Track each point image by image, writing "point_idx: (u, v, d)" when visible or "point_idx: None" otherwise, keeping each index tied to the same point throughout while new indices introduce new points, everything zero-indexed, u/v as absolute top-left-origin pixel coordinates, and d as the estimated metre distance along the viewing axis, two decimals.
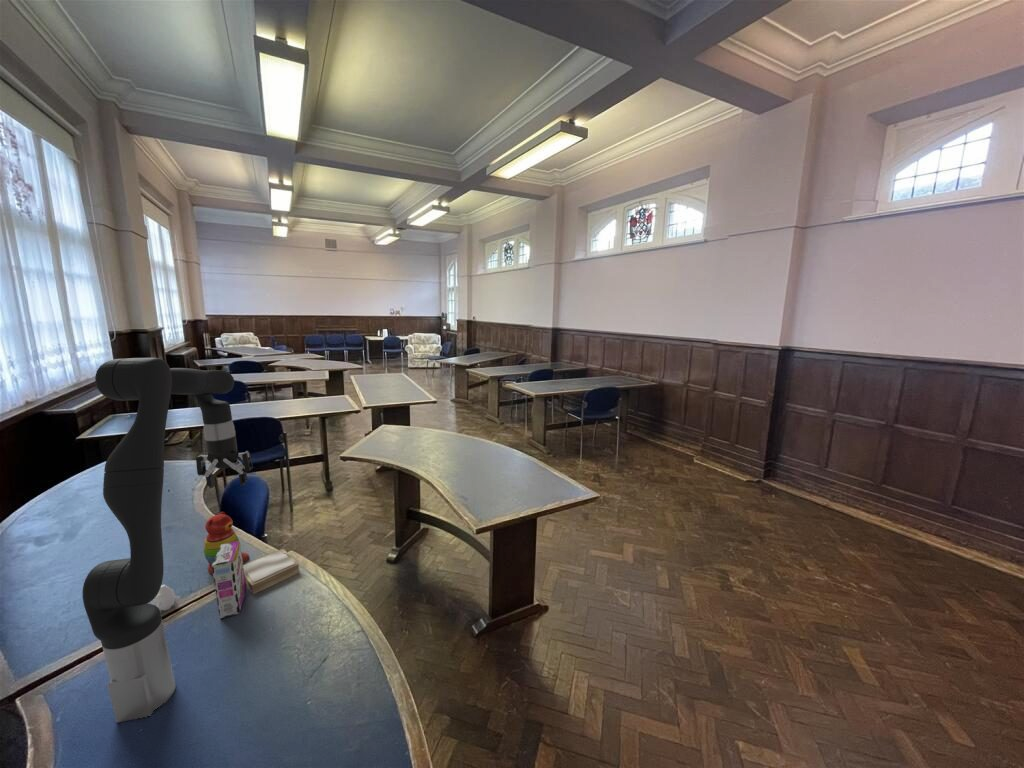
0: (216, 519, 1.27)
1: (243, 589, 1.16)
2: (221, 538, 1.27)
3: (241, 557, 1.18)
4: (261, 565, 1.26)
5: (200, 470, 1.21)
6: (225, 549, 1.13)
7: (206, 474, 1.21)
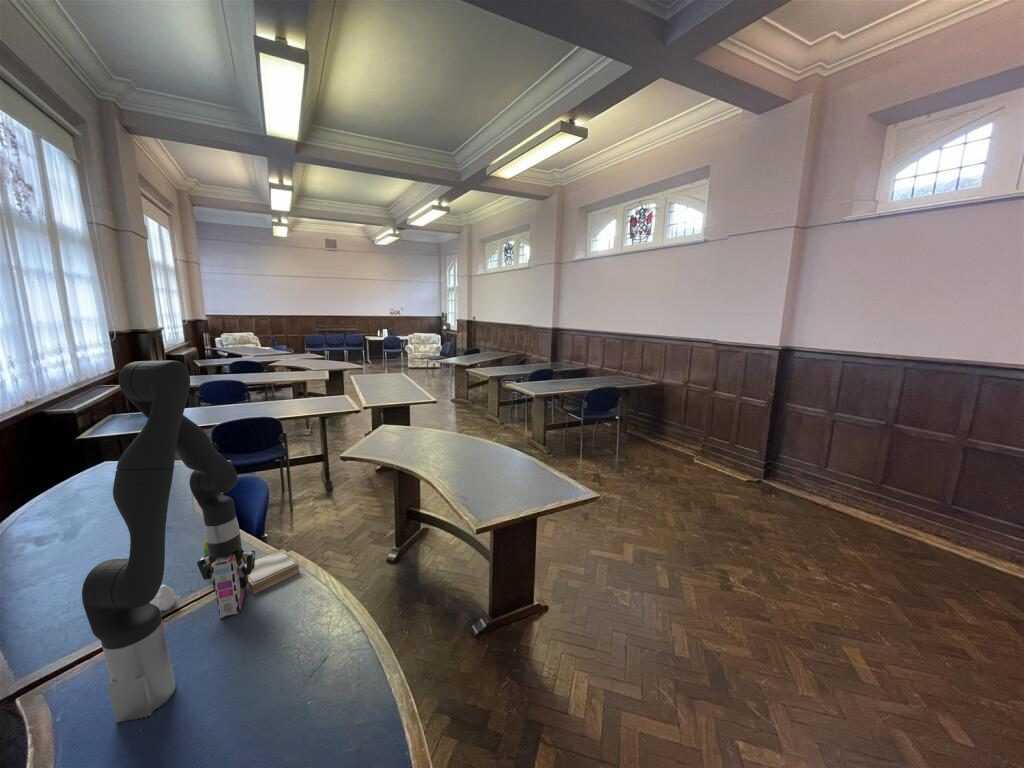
0: None
1: (243, 589, 1.16)
2: None
3: None
4: (261, 565, 1.26)
5: (205, 574, 1.10)
6: None
7: None
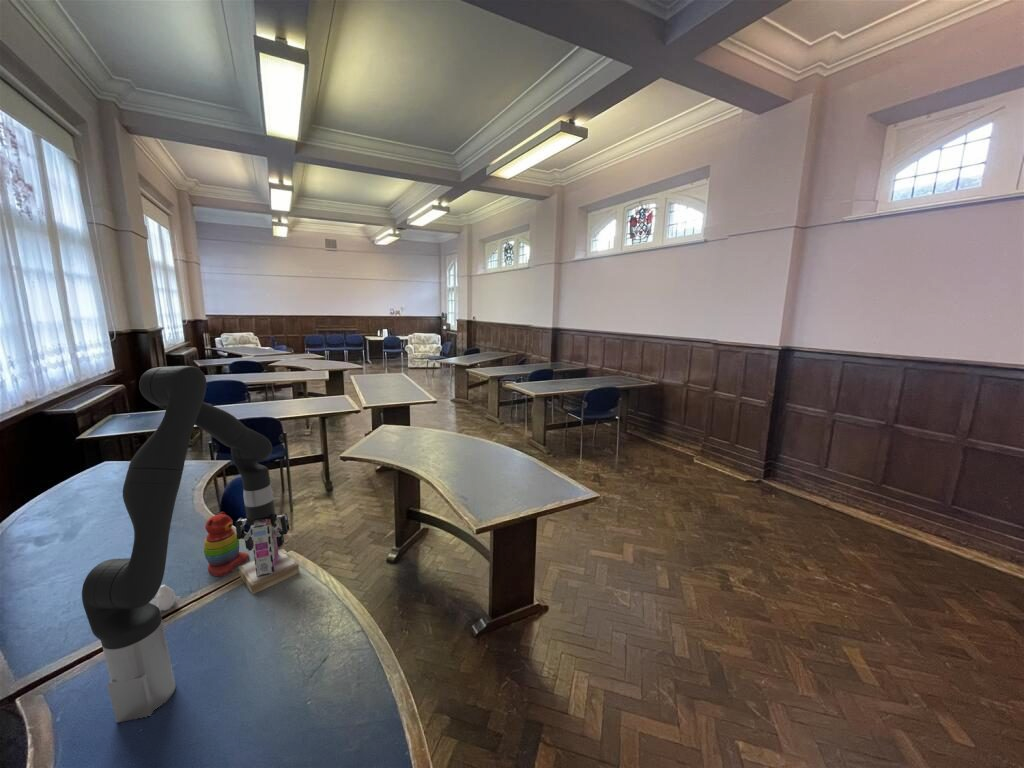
0: (216, 518, 1.27)
1: (276, 552, 1.28)
2: (221, 538, 1.27)
3: None
4: None
5: (239, 534, 1.22)
6: None
7: (245, 538, 1.23)
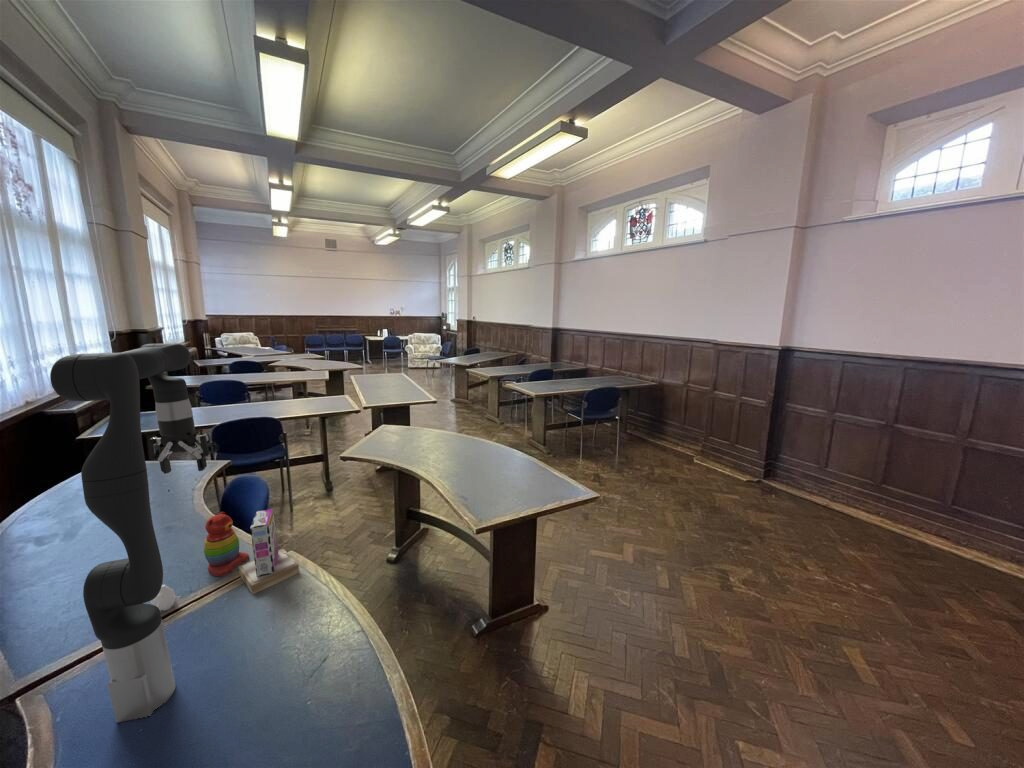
0: (216, 519, 1.27)
1: (276, 552, 1.28)
2: (221, 538, 1.27)
3: (274, 523, 1.29)
4: None
5: (153, 454, 1.09)
6: (261, 515, 1.25)
7: (160, 458, 1.10)
